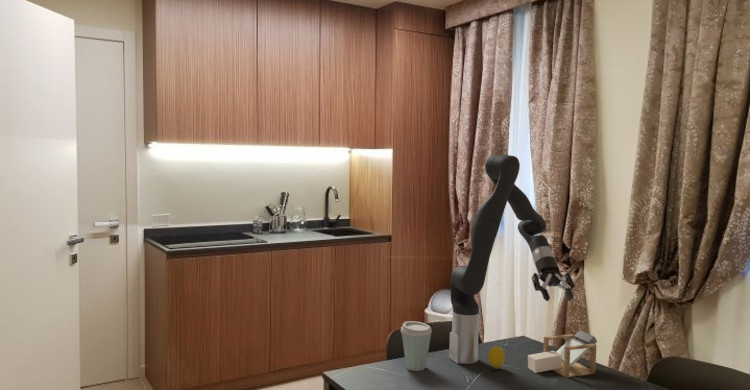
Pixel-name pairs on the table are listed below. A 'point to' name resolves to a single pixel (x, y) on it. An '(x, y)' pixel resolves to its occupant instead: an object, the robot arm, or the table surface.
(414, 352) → the disposable coffee cup
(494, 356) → the lemon
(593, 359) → the frame
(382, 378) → the table surface
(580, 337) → the door
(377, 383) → the table surface
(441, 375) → the table surface
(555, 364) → the block
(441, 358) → the table surface
